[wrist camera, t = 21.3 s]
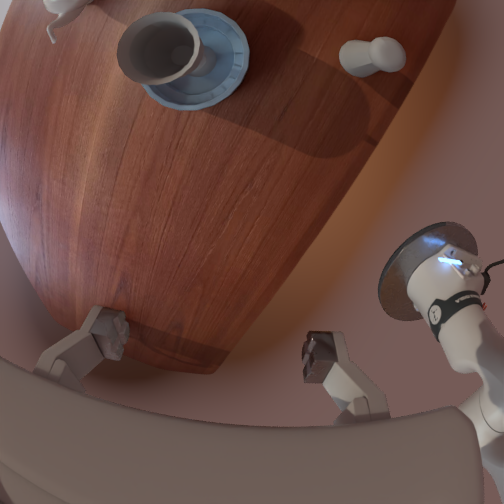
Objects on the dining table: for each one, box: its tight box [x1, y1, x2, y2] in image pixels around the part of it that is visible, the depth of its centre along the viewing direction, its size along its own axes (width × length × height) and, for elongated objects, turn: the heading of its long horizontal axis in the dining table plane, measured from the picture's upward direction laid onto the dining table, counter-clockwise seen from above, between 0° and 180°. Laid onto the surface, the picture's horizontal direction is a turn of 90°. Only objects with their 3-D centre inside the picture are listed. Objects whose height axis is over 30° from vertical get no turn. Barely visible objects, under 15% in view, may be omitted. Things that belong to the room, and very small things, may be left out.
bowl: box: [142, 8, 250, 110], centre depth 30 cm, size 14×14×6 cm
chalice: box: [117, 12, 217, 85], centre depth 24 cm, size 7×7×18 cm
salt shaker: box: [339, 37, 406, 78], centre depth 26 cm, size 6×6×13 cm
